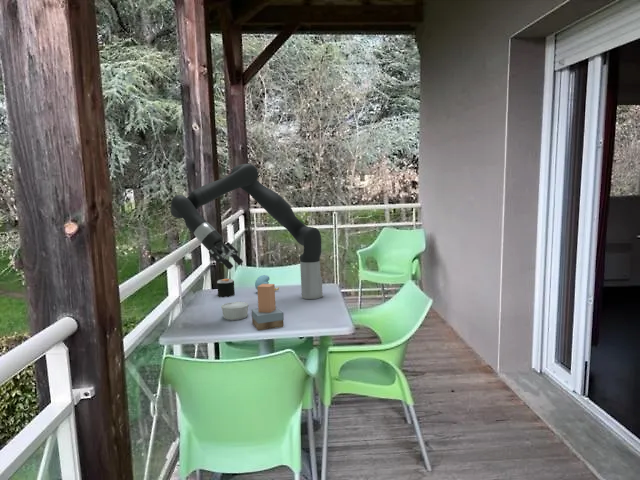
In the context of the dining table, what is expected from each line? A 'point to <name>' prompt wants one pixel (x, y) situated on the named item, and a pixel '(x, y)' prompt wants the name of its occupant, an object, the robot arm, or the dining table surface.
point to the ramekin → (235, 310)
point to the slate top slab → (267, 316)
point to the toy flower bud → (263, 281)
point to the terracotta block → (266, 298)
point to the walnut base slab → (267, 324)
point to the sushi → (225, 287)
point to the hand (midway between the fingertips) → (236, 265)
